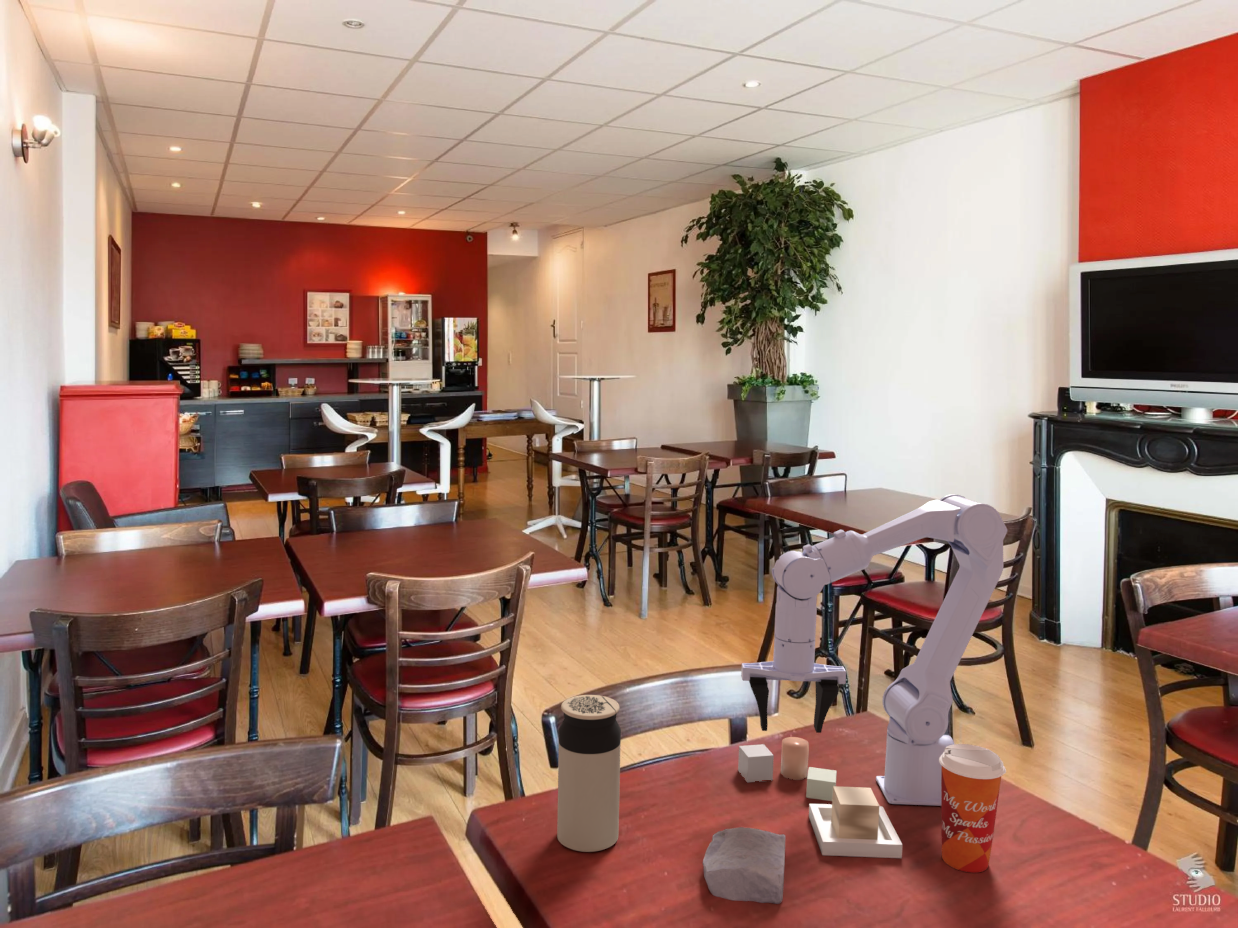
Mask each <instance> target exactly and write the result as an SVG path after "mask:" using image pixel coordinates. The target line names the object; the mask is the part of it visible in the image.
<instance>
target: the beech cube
mask: <svg viewBox="0 0 1238 928" xmlns="http://www.w3.org/2000/svg"><path fill="white" fill-rule="evenodd" d="M831 804H832V817H831V822H832V825H833V828H834V830H835V833H836V836H837V838H844V839H870V840H877V839H878V822H879V806H880V804H879V802H878V800H877V798H876V796H875V794H874V792H873V790H872V788H871V787H860V786H858V787H856V786H839V785H838V786H837V785H836V786H833V797H832V801H831Z"/></svg>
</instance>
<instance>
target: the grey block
mask: <svg viewBox="0 0 1238 928" xmlns="http://www.w3.org/2000/svg"><path fill="white" fill-rule="evenodd" d="M774 757H775V756H774V754H773V753H772V752H771V750H769V748H768V747H767V746H766V745H765V743H762V744H749V745H739V746H738V761H737V762H738V765H737V766H738V767H737V771H738V772H739V774H740V773H741V774H740V775H741V777H744V778H745V779H744V778H743V779H744V780H745V781H746V782H747V783H755V781H759V782H763V781H762V780H771V781H773V780H774V778H773V777H774V775H773V774H774V759H775V758H774Z"/></svg>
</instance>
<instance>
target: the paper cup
mask: <svg viewBox="0 0 1238 928" xmlns="http://www.w3.org/2000/svg"><path fill="white" fill-rule="evenodd" d="M939 762H940V764H941V765H942V769H941V806H940V807H941V810H940V813H941V815H940V817H941V819H940V821H941V822H940V823H941V826H940V830H941V831H940V832H941V835H940V836H941V838H940V839H941V841H940V842H941V844H940V845H941V859H942V861H943V862H944V863H945V864H946V865H947V866H949V867H951V868H953V869H954V870H957V871H959V872H960V871H961V872H963V873H969V874H971V873H972V874H973V873H974V874H977V873H982V872H985V871H986V870H988V868H989V863H990V858H991V852H992V847H993V838H994V833H995V824H996V818H997V810H998V803H999V796H1000V790H1001V789H1000V788H1001V782H1002V776H1003V775H1005V774H1006V773H1007V769H1006V767H1005V766H1004V762H1003V760H1002V759H1001V757H1000V755H998V753H996V752H994V751H993V750H990V749H989V748H986V747H982V746H980V745H973V744H968V743H954V745H949V746H947V747H946V748H945V749H944V752H943V754H942V755H941V756H940V758H939Z"/></svg>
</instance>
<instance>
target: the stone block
mask: <svg viewBox="0 0 1238 928" xmlns="http://www.w3.org/2000/svg"><path fill="white" fill-rule="evenodd" d="M785 856H786V835H785V834H783V833H782V834H780V833H779V834H778V833H775V832H771V831H767V830H763V829H760V828H753V827H745V826H740V827H733V828H725V829H723V830H719V831H717V832H715V833H714V834H713V835H712V838H711V842H710V843H709V845H708V847H707V848H706V850H705V853H704V857H703V859H702V866H703V876H704V879H705V882H706V886H707V888H708V890H709V892H710V893H711V895H713V896H714V897H717V898H722V899H725V900H730V901H737V902H738V901H742V902H748V901H749V902H757V903H760V904H766V903H769V904H775V905H776V904H777V905H780V904H781V903H782V901H783V899H784V898H783V897H784V896H783V895H784V884H785V883H784V881H785V858H786V857H785Z"/></svg>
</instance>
